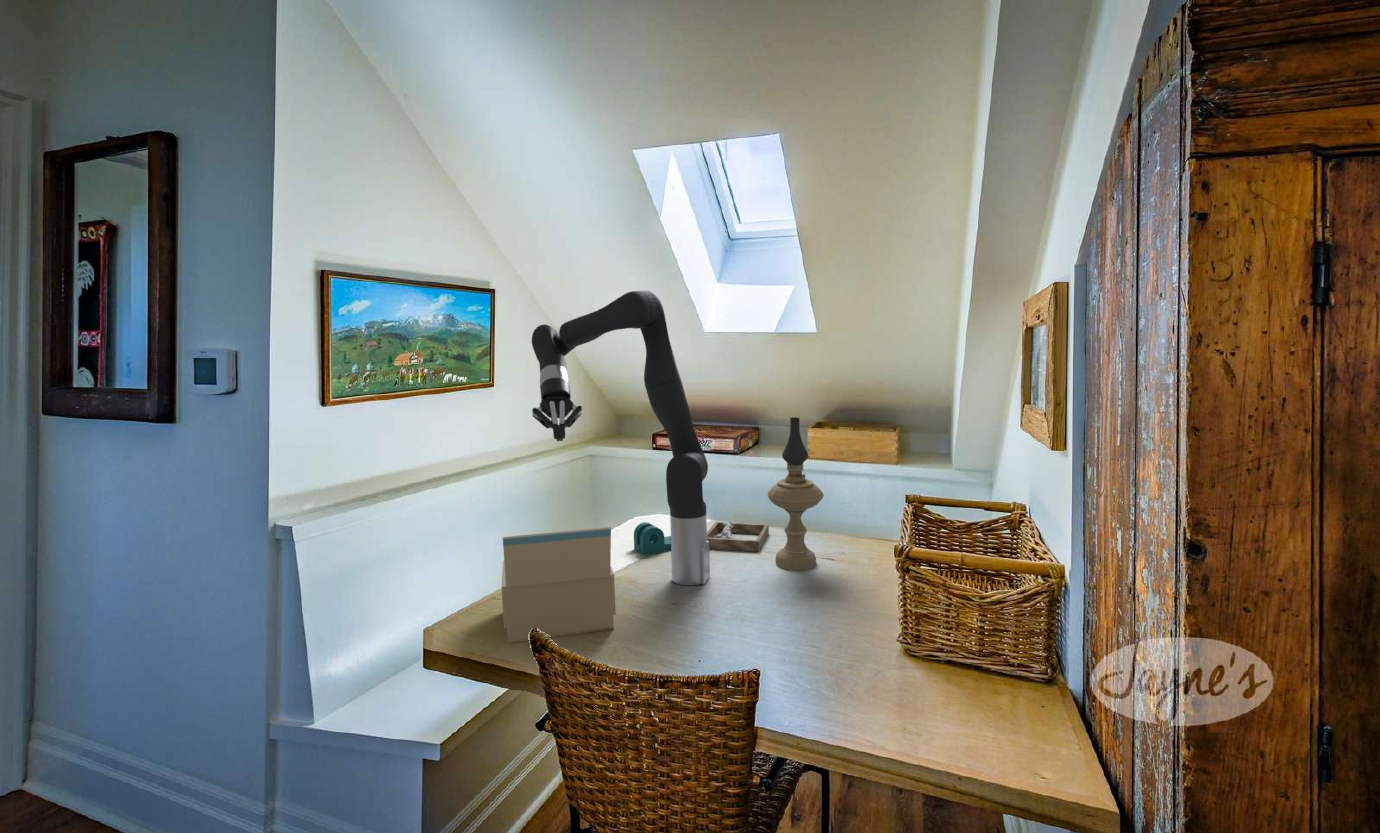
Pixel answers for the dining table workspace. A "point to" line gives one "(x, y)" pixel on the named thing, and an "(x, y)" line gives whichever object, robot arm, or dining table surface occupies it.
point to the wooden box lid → (557, 556)
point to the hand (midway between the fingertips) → (559, 438)
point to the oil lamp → (795, 503)
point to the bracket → (650, 539)
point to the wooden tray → (738, 543)
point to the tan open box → (558, 607)
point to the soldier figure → (726, 531)
